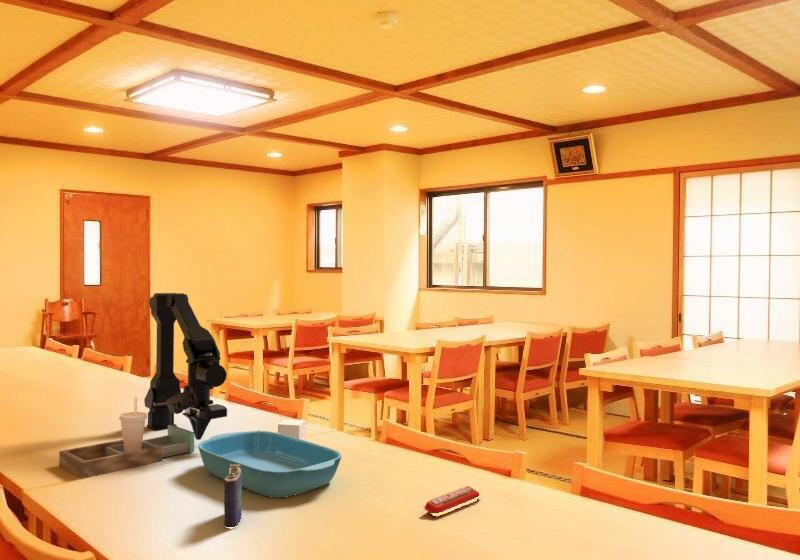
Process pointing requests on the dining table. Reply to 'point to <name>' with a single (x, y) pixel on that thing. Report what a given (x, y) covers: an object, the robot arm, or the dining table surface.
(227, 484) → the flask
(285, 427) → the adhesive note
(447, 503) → the candy bar
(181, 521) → the dining table surface
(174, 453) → the tray
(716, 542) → the dining table surface
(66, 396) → the dining table surface
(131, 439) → the smoothie
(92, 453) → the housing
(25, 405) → the dining table surface
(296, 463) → the casserole dish
